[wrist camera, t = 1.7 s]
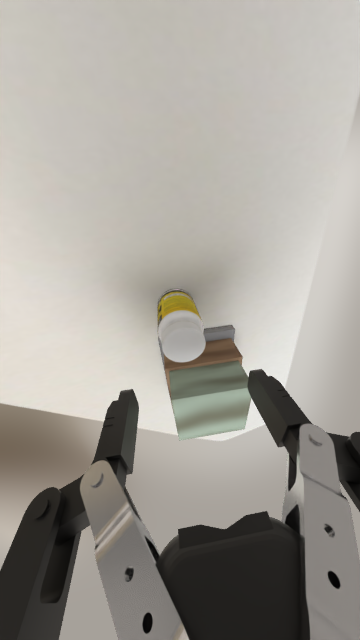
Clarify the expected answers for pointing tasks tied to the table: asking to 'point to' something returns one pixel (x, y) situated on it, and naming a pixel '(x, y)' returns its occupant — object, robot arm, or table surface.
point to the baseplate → (210, 336)
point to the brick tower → (209, 391)
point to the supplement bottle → (180, 326)
